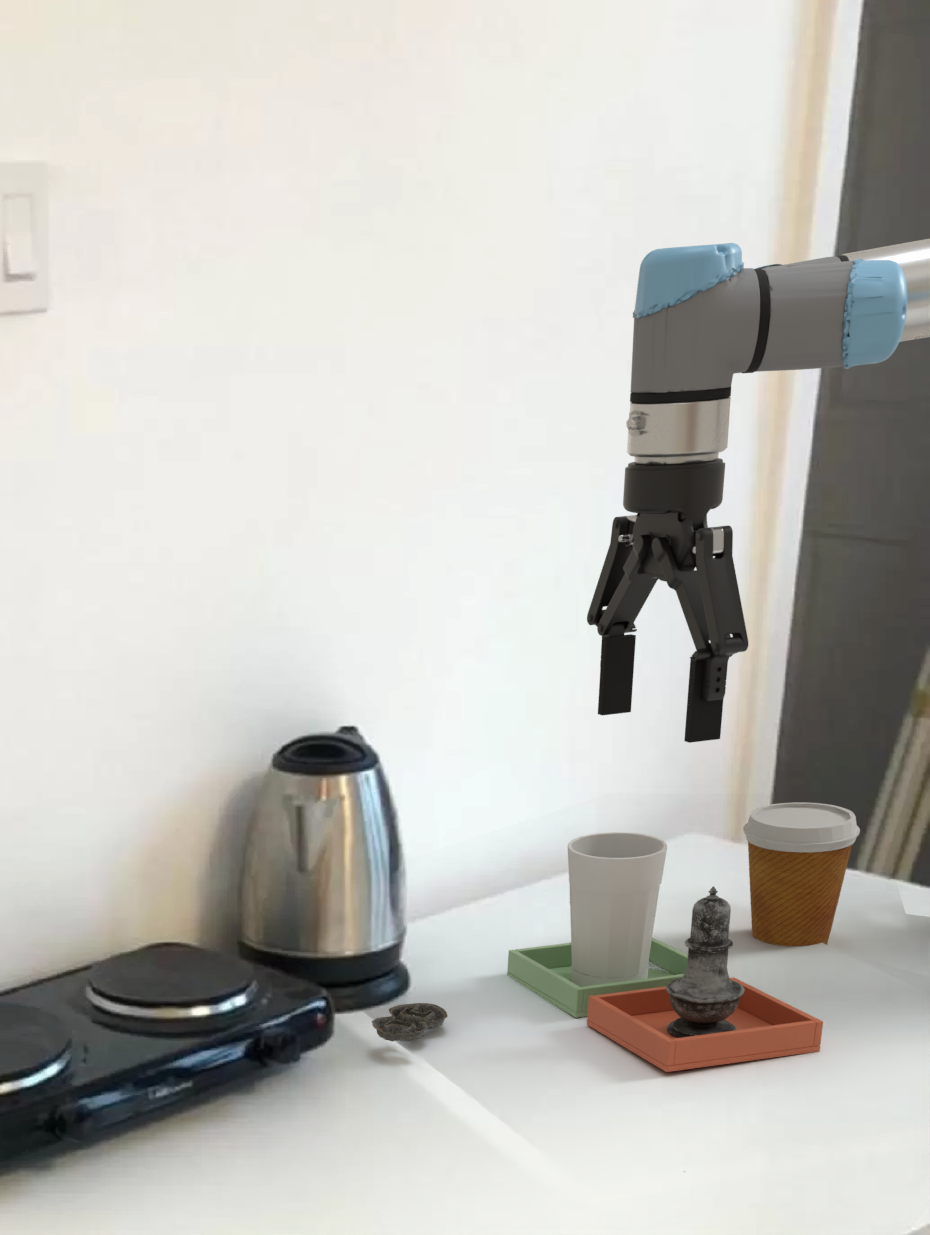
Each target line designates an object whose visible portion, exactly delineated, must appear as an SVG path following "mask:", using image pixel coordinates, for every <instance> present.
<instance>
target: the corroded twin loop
mask: <svg viewBox="0 0 930 1235" xmlns="http://www.w3.org/2000/svg"><path fill="white" fill-rule="evenodd" d="M388 1012H389V1014H390V1015H391V1016H379V1017H376V1018H375V1019H372V1020H371V1023H372V1027H373V1028H374V1029H375V1030H376V1034H377V1035H378V1037H380V1038H381V1039H384V1040H385V1041H390V1042H391V1043H392V1042H397V1041H399V1042H400V1041H408V1040H410V1041H411V1040H417V1039H420V1038H422V1037H424V1035H425V1031H426V1030H431V1029H434V1028H440V1027H441V1026H443V1025H444V1022H445V1019H446V1018H448V1013H447V1011H446V1009H445V1008H443V1007H441V1006H439V1005H437V1004H434V1003H428V1002H415V1003H414V1002H413V1003H405V1004H398V1005H395V1006H394V1005H393V1006H392V1007H389V1008H388Z"/></svg>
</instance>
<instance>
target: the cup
mask: <svg viewBox="0 0 930 1235" xmlns="http://www.w3.org/2000/svg"><path fill="white" fill-rule="evenodd" d="M667 851H668V844H667V842H666V841H665V840H663V839H662V838H659V837H656V836H652V835H649V834H643V833H636V832H623V831H622V832H621V831H619V832H618V831H616V832H598V833H591V834H586V835H582V836H579V837H576V838H574V839H572V840H570V841H569V842H568V844H567V863H568V864H567V865H568V883H569V910H570V911H569V913H570V914H569V915H570V918H569V919H570V943H571V953H572V966H571V981H572V983H574V984H576V985H578V986H579V987H584V986H592V985H600V984H608V983H615V982H623V981H631V980H639V979H647V978H648V969H649V962H650V961H649V954H650V948H651V941H652V937H653V935H654V934H653V933H654V926H655V921H656V914H657V908H658V900H659V894H660V887H661V884H662V881H663V875H664V868H665V864H666V858H667V857H666V856H667Z"/></svg>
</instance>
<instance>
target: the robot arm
mask: <svg viewBox="0 0 930 1235" xmlns="http://www.w3.org/2000/svg"><path fill="white" fill-rule="evenodd" d="M635 295H636V296H635V304H634V310H633V312H632V319H633V334H632V352H631V353H632V354H631V355H632V356H631V372H630V373H631V374H630V375H631V376H630V394H629V397H630V398H629V402H630V403H629V411H628V412H629V413H628V418H627V420H626V424H625V425H626V428H627V442H626V443H627V444H626V453H627V454H628V455H629V456H630V457H634V461H631V462H629V463H627V466H626V467H625V468H624V482H623V496H622V506H623V508H624V510H626V511H627V512H629V513H634V514H631V515H630V514H629V515H623V516H621V515H620V516H615V517H614V518H613V520H612V525H611V535H610V541H609V542H610V543H609V546H608V549H607V553H606V555H605V559H604V561H603V564H602V567H601V571H600V574H599V578H598V581H597V584H596V587H595V590H594V593H593V596H592V599H591V601H590V606H589V609H588V612H587V615H586V622H587V625H589V626H596V629H597V633H598V636H600V637H601V646H600V665H599V667H600V669H599V685H598V704H597V715H600V716H609V715H618V714H619V715H620V714H627V713H632V701H633V688H634V687H633V685H634V684H633V683H634V670H635V654H636V642H637V641H636V640H637V638H636V637H637V635H636V634H633V633H636V632H637V631H638V629H637V626H636V624H635V621H636V619H637V618H638V616H639V614H640V613H641V611H642V609H643V607H644V605H645V603H646V602H647V600H648V598H649V597H650V595H651V593H652V591H653V589H654V587H655V585H656V584H657V582H658V580H659V581H661V582H666V584H667V586H668V587H669V588H670V589H672V590H674V591H675V593H676V596H677V599H678V601H679V604H680V607H681V610H682V613H683V616H684V619H685V622H686V625H687V627H688V631H689V634H690V637H691V639H692V642H693V644H694V647H695V651H694V652H693V653H692V654H691V656H690V657H689V659H690V660H689V674H688V675H689V676H688V686H687V699H686V701H687V702H686V712H685V713H686V714H685V725H684V726H685V727H684V728H685V729H684V742H686V743H697V742H706V741H715V740H721V734H722V721H723V710H724V698H725V695H726V688H727V676H728V665H729V664H728V663H729V660H730V658H731V657H733V655H735V654H737V653H743V652H746V651H747V650H748V649H749V638H748V633H747V627H746V626H747V625H746V621H745V615H744V611H743V606H742V600H741V595H740V594H741V593H740V589H739V584H738V578H737V573H736V568H735V563H734V562H735V561H734V556H733V548H734V547H733V545H734V544H733V541H734V540H733V539H734V532H733V527H732V526H731V525H717V526H708V513H709V511H711V510H714V509H716V508H718V507H720V506H721V504H722V502H723V498H724V488H725V485H724V484H725V475H726V474H725V473H726V462H724V459H722V458H719V453H722V452H724V451H725V450H726V449H727V448H728V444H729V428H730V412H731V399H732V398H731V396H732V383H733V378H734V374H753V373H756V372H757V373H758V372H776V371H777V372H779V371H801V370H815V369H830V368H831V369H833V368H843V369H846V370H849V369H851V368H852V367H855V366H865V365H874V364H879V363H883V362H885V361H886V360H888V359H889V358H890V357H891V356H892V355H893V354H894V352H896V349H897V347H898V346H899V344H900V343H901V342H907V341H913V340H919V339H925V338H930V238H924V239H921V240H920V239H918V240H914V241H907V242H903V243H902V242H901V243H897V244H891V245H886V246H881V247H874V248H869V249H864V250H858V251H852V252H847V253H841V254H840V255H833V256H825V257H820V258H814V259H809V260H803V261H798V262H791V263H786V264H785V263H784V264H781V263H774V264H773V263H772V264H767V265H763V266H758V267H756V268H753V267H748V268H747V267H745V262H744V261H743V250H742V248H741V246H740V245H739V244H738V243H735V242H728V243H716V244H715V243H714V244H701V245H688V246H675V247H674V246H673V247H663V248H656V249H653V250H651V251H650V252H648V253H647V254H646V255H645V256H644V257H643V259H642V260H641V262H640V265H639V272H638V280H637V288H636V294H635ZM605 607H606V608H605ZM604 608H605V609H604ZM627 633H630V634H627ZM731 635H732V636H731Z"/></svg>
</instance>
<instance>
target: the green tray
mask: <svg viewBox="0 0 930 1235" xmlns="http://www.w3.org/2000/svg"><path fill="white" fill-rule="evenodd" d="M687 961H688V953H685V952H683V951H681V950H679V949H677V948H675V947H674V946H671V945H669V944H667V943H666V942H663V941H661V940H659V939H657V938H655V937H653V936H652V941H651V948H650V954H649V961H648V962H651V963H652V964H654V965H656V966H658V967H659V968H661V969H663V970H661V969H654V968H648V978H647V979H639V980H631V981H623V982H615V983H608V984H600V985H592V986H584V987H579V986H578V985H576V984H574V983H572V981H571V966H572V953H571V942H565V943H557V944H547V945H539V946H531V947H524V948H517V949H508V956H507V973H506V975H507V976H508V977H510V978H511V979H513V980H514V981H516V982H517V983H518V984H520V985H522V986H524V987H525V988H526V989H528V990H530V991H531V992H533V993H534V994H536V995H538V996H539V997H541V998H542V999H544V1000H545V1001H547V1002H549V1003H550V1004H552V1005H553V1006H555V1007H557V1008H558V1009H560V1010H561V1011H563V1012H564V1013H567V1014H568V1015H569V1016H571V1017H573V1018H575V1019H577V1018H587V1013H588V1000H589V996H594V995H595V996H596V995H602V994H609V993H617V992H625V991H633V990H641V989H649V988H656V987H664V986H667V984H669V983H670V982H671V981H673V980H675V979H679V978H682V977H683V976H684V973H685V971H686V968H687Z"/></svg>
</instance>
